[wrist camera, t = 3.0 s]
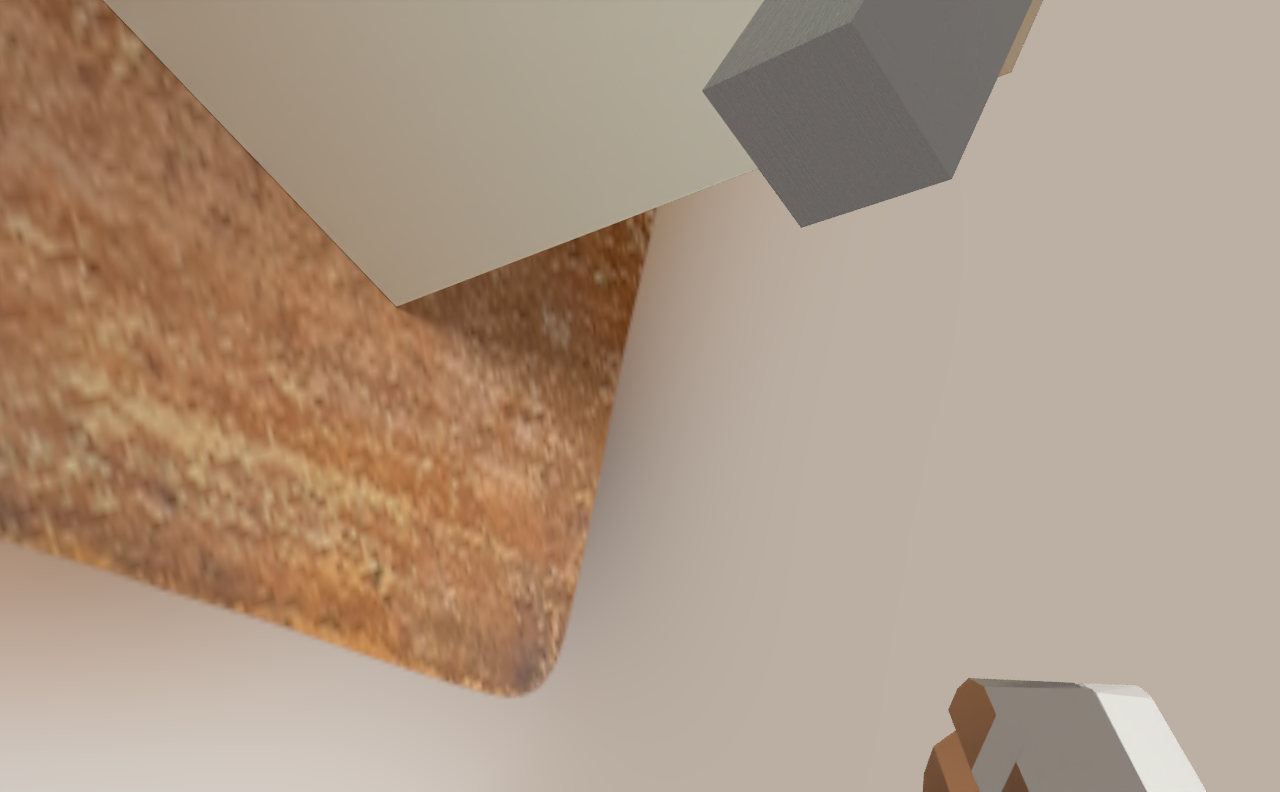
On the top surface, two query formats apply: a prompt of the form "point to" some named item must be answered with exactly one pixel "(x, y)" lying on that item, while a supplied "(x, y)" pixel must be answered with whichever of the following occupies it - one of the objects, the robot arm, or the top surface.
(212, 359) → the top surface
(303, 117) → the stand
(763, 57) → the long grey bar
